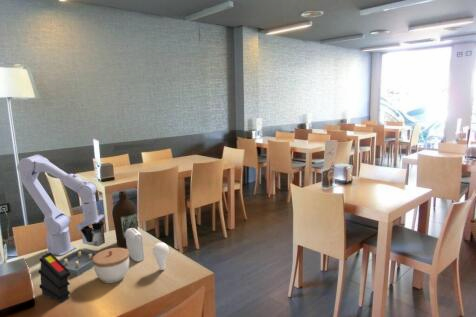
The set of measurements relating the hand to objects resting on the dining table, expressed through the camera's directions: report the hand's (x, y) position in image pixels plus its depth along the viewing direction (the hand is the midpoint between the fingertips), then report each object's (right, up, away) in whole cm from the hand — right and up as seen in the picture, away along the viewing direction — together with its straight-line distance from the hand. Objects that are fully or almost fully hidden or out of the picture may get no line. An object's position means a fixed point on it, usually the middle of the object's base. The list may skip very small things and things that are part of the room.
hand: (93, 239), depth 147 cm
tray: (0, -7, -13) cm, 15 cm away
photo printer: (+21, -6, -8) cm, 24 cm away
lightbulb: (+35, -7, -19) cm, 41 cm away
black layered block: (+3, -11, -34) cm, 36 cm away
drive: (0, -2, 0) cm, 2 cm away
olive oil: (+13, -3, +6) cm, 15 cm away
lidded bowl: (+18, -9, -24) cm, 31 cm away
